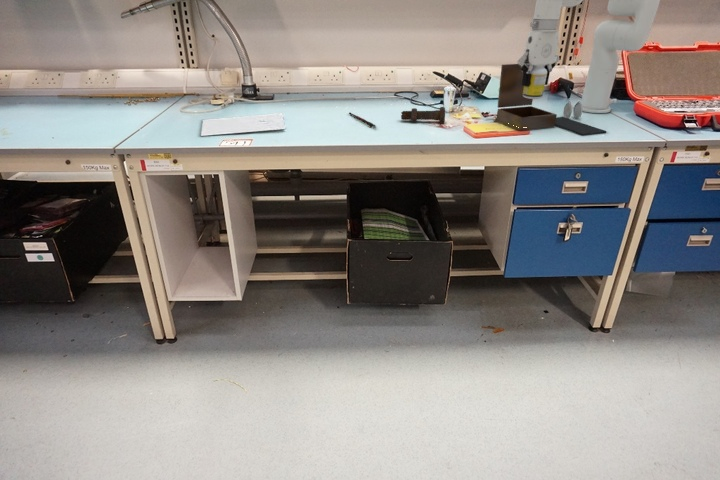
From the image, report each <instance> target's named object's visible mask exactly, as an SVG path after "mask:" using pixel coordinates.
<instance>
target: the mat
mask: <svg viewBox="0 0 720 480" xmlns="http://www.w3.org/2000/svg"><path fill="white" fill-rule="evenodd" d="M554 127H557V128H560V129H562V130H566V131H568V132H571V133H574V134H576V135H580V136H582V137H584V136H591V135H600V134H607V130H605V129H601V128H599V127H595V126H592V125H589V124H586V123H583V122H581V121H577V120H575V119H571V118H565V117H564V116H559V117H556V121H555V126H554Z"/></svg>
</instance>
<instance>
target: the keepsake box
mask: <svg viewBox="0 0 720 480" xmlns="http://www.w3.org/2000/svg"><path fill="white" fill-rule="evenodd" d="M557 116H558V114H557V113H554V112H551V111H549V110H544V109H541V108H538V107H536V106H532V105H525V106H514V107H502V108H497V112H496V117H495V122H496V123H498V124H500V125H503V126H506V127H508V128H511V129H513V130H516V131H518V132H525V131H533V130H534V131H535V130H543V129H544V130H545V129H553V128H555V127H556V126H555V121H556V117H557ZM508 123H509V124H508ZM513 125H514V126H513ZM516 126H517V127H516ZM518 127H519V128H518ZM523 127H527V128H523Z"/></svg>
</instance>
